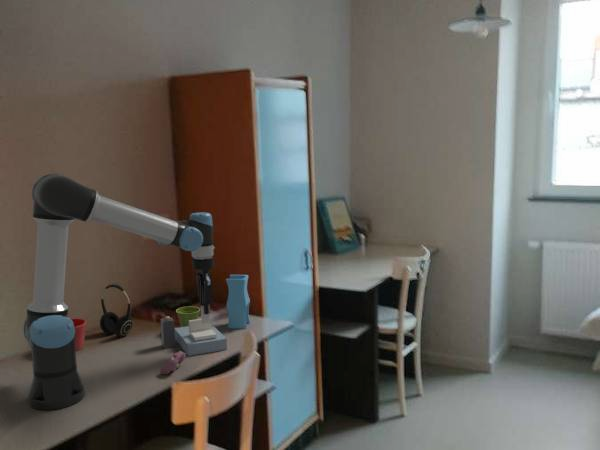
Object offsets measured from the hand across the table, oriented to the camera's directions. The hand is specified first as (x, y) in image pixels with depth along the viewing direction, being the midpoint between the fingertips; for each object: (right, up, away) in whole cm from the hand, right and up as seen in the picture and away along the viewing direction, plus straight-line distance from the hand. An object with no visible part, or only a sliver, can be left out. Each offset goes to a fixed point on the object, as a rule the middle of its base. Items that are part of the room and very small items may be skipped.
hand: (205, 322), depth 205 cm
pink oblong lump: (-8, -13, -16) cm, 22 cm away
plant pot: (-10, -7, +22) cm, 26 cm away
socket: (-3, -9, +8) cm, 13 cm away
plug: (-15, -10, +6) cm, 19 cm away
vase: (+9, -6, +29) cm, 31 cm away
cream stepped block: (-2, -6, +4) cm, 7 cm away
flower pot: (-49, -10, +4) cm, 50 cm away
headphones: (-37, -8, +19) cm, 42 cm away
